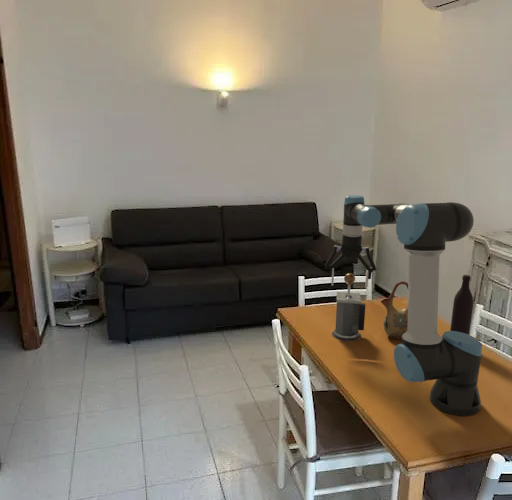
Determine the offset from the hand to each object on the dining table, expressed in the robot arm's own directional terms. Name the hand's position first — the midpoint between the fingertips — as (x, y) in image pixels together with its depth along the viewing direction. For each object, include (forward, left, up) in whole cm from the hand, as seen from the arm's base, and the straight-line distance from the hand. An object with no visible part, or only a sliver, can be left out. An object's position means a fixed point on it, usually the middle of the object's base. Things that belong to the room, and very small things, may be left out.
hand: (349, 285), depth 200 cm
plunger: (0, 0, -19) cm, 19 cm away
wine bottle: (-2, -44, -23) cm, 50 cm away
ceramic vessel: (+2, -21, -23) cm, 31 cm away
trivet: (0, 0, -22) cm, 22 cm away
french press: (0, 0, -22) cm, 22 cm away
